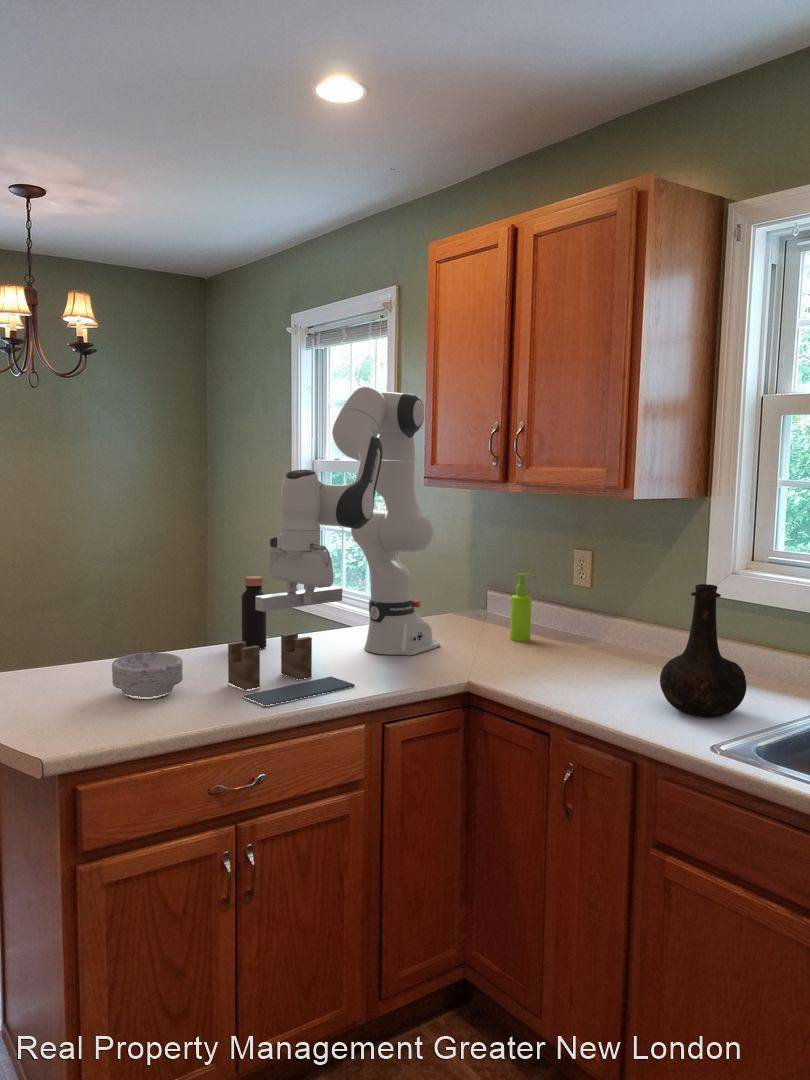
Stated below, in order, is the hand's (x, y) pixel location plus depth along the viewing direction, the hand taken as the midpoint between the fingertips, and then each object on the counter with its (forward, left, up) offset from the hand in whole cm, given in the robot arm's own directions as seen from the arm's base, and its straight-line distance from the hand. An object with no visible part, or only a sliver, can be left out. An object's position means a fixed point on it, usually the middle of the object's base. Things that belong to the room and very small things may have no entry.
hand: (300, 602), depth 190 cm
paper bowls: (+27, -21, -21) cm, 40 cm away
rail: (0, 0, -1) cm, 1 cm away
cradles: (0, -12, -21) cm, 24 cm away
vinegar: (-16, -44, -21) cm, 51 cm away
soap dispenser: (-83, -2, -21) cm, 86 cm away
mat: (0, 0, -21) cm, 21 cm away
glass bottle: (-58, +68, -21) cm, 92 cm away
